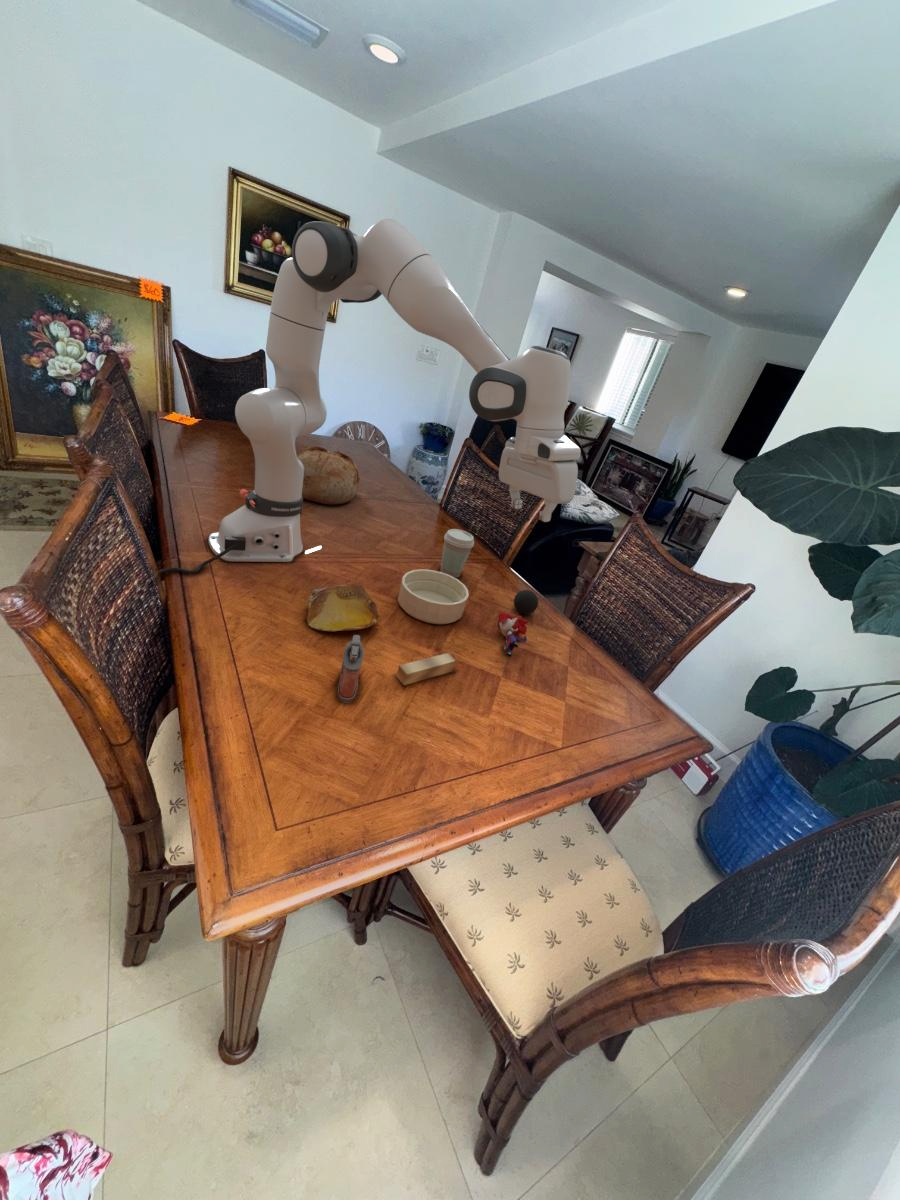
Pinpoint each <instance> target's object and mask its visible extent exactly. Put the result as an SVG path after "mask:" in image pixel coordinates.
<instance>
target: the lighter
mask: <svg viewBox="0 0 900 1200" xmlns="http://www.w3.org/2000/svg"><path fill="white" fill-rule="evenodd" d="M364 650H365V649H364V646H363V643H362V641H361V635H359V634H353V636H352V639H351V640H350V641H348V642H347V644H346V645H345V648H344V652H343V656H342V663H341V667H340V677H339V681H338V685H337V697H338V700H339V701H341V702H342V703H345V704H347V703H348V704H349V703H352V702H353V701H354V700H355V697H356V695H357V691H358V686H359V675H360V671H361V667H362V664H363V660H364V654H365V653H364Z"/></svg>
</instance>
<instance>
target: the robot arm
mask: <svg viewBox="0 0 900 1200" xmlns="http://www.w3.org/2000/svg"><path fill="white" fill-rule="evenodd" d="M272 293H273V294H272V298H271V304H270V312H269V313H270V314H269V319H268V329H267V334H266V335H267V337H266V344H265V352H266V355H267V357H268V359H269V360H270V362H271V363H272V366H273V369H274V377H275V385H274V387H259V388H256V389H254V390H251V391H249V392H246V393H245V394H242V395H241V396H240V397H239V398H238V400H237V402H236V404H235V407H234V416H235V421H236V423H237V425H238V427H239V429H240V431H241V432H242V433H243V434H244V435H245V436H246V437H247V438H248V440H249V442H250V445H251V448H252V451H253V456H254V457H253V458H254V488H253V490H252V491H251V492H249V491H248V490H247V489H246V488H240V490H239V492H238V495H239V496H240V497H241V498H242V499H243V500H245V504H244V505H242V506H240V507H239V508H238V509H236V510H234V511H232V512H231V513H229V514H227V515H226V516H224V517H223V518H222V519H221V522H220V524H219V527H218V532H217V531H216V532H213V533H211V534H209V536H208V546H209V548H210V550H211V551H212V553H213V554H214V556H213V557H211V558H209V559H207V560H205V561H203V562H201V563H200V564H198V566H196V569H191V570H190V569H185V568H181V567H168V568H162V569H158V571H159V575H161V574H163V573H168V572H179V573H184V574H191V575H193V574H197V573H199V572H200V570H201V569H202V568H204V567H205V566H206V565H208V564H210V563H212V562H214V561H216V560H218V559H222V560H223V561H226V562H244V563H245V562H250V563H251V562H253V563H254V562H257V563H259V562H260V563H290V562H292V561H293V560H294V557H296V556H297V555H300V554H301V553H302V552H303V550H304V544H303V540H302V532H301V517H302V516H303V515H302V514H303V508H304V498H303V496H302V487H303V478H304V466H303V464H302V462H301V461H300V460H299V459H298V458H297V457H298V454H297V450H296V449H297V448H296V440H297V438H300V437H306V436H309V435H312V434H313V433H314V432H316V431H318V430H319V429H320V428H322V427H323V425H324V424H325V422H326V420H327V416H328V415H327V414H328V411H327V406H326V403H325V401H324V399H323V398H322V395H321V386H320V363H321V357H322V350H323V344H324V340H325V339H324V337H325V331H326V327H327V321H328V314H329V310H330V308H331V306H332V304H333V303H334V302H335V301H338V300H340V302H342V303H344V304H348V303H349V304H350V303H351V304H352V303H355V304H358V303H359V304H361V303H363V304H364V303H368V302H372V301H375V300H377V299H379V298H380V297H381V296H383V298H384V299H385V300H386V301H387V303H388V304H389V305H390V306H391V308H392V309H393V310H394V312H395V313H396V314H397V315H398V316H399V317H400V319H402V320H403V321H404V323H406V324H407V325H408V326H410V327H411V328H412V329H413V330H415V331H416V332H418V333H421V334H423V335H425V336H429V337H431V338H434V339H436V340H439V341H441V342H443V343H445V344H447V345H448V346H450V347H452V348H453V349H455V350H456V351H457V352H458V353H459V354H460V355H461V356H462V357H463V358H464V360H465V361H466V362H467V363H468V364H469V365H470V366H471V367H472V369H473V370H474V371H475V372H476V374H475V375H474V377H473V379H472V380H471V383H470V385H469V390H468V391H469V392H468V400H469V403H470V407H471V409H472V410H473V412H474V413H475V414H476V415H477V416H478V417H479V418H481V419H483V420H486V421H488V422H489V421H490V422H501V421H508V420H515V421H516V430H515V436H511V437H510V438H509V439H508V440H506V442H505V444H504V445H505V446H504V448H503V450H502V453H501V456H500V461H499V462H500V463H499V469H498V479H499V481H500V482H501V483H503V484H506V485H507V486H509V487H508V491H509V495H510V499H511V502H510V507H511V508H512V509H515V510H521V509H522V508H523V499H521V494H520V491H523V492H525V493H529V494H531V495H533V496H535V497H539V498H540V499H541V498H542V499H544V500H543V505H545V506H544V508H543V509H542V510H541V511H540V510H539V514H538V515H539V516H538V520H539V521H541V522H544V523H547V522H550V521H551V519H552V513H553V512H554V511H555V509H556V507H557V506H558V504H559V505H560V504H568V503H570V502H571V501H572V500H573V499H574V498H575V494H576V489H577V485H578V483H577V482H578V474H579V467H578V464H577V462H576V461H577V460H579V459H580V457H581V453H582V451H581V448H580V447H579V445H577V444H576V443H574V442H573V441H572V440H571V439H569V437H568V436H567V435H566V434H564V433H565V411H566V409H567V406H568V404H569V398H570V390H571V379H572V378H571V376H572V368H571V367H572V366H571V360H570V358H569V356H567V354H566V353H564V352H562V351H560V350H556V349H552V348H550V347H544V346H541V345H533V346H529V347H528V348H527V349H526V350H525V351H524V352H522V353H520V354H519V355H517V356H515V357H513V358H509V356H508V355H506V354H505V353H504V351H503V350H502V349H501V348H500V347H499V346H498V344H497V343H496V342H495V340H494V339H493V338H492V337H491V336H490V335H489V333H488V332H487V331H486V330H485V329H484V328H483V326H482V325H481V324H480V323H479V322H478V321H477V319H476V317H474V315H473V314H472V313H471V311H470V309H469V308H468V307H467V305H466V304H465V302H464V301H463V299H462V298H461V296H460V295H459V294H458V292H457V290H456V289H455V287H454V285H453V284H452V283H451V281H450V280H449V278H448V277H447V275H446V274H445V272H444V270H443V269H442V268H441V266H440V265H439V264H438V262H437V260H436V259H435V258H434V257H433V255H432V254H431V253H430V252H429V251H428V250H427V248H426V247H425V246H424V244H422V242H421V241H420V240H418V239H417V238H416V236H414V234H412V233H411V232H410V231H409V230H408V229H407V228H406V227H405V226H403V224H401V223H400V222H399V221H397V220H395V219H392V218H383V219H380V220H378V221H376V222H375V223H373V225H371V226H370V227H369V229H368V230H367V232H366V233H365V234H363V235H361V236H360V235H358V234H356V233H355V232H352V230H351V229H350V228H347V227H344V226H340V225H337V224H335V223H331V222H327V221H321V220H320V221H318V220H317V221H309V222H305V223H304V224H303V225H302V226H301V227H299V229H298V230H297V231H296V233H295V235H294V237H293V241H292V245H291V257H289V258H286V259H285V260H284V261H283V262H282V264H281V265H280V269H279V271H278V274H277V277H276V281H275V285H274V288H273V292H272ZM321 549H322V545H318V546H315V547H313V548H310V549H307V550H305V552H304V554H305V555H308V554H310V553H313V552H316V551H319V550H321Z"/></svg>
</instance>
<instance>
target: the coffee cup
mask: <svg viewBox="0 0 900 1200" xmlns="http://www.w3.org/2000/svg"><path fill="white" fill-rule="evenodd" d="M443 539H444V542H443V549H442V555H441V563H440V570H439V572H442V573H445V574H448V575H450V576H452V577H454V578H456V579H458V578H459V577H460V576H461V574H462V571H463V569H464V567H465V565H466V562H467V560H468V557H469V555H470V553H471V550H472V548H473V547H474V546H475V537H474V535H472V533H469V531H465V530H462V529H459V528H451V529H448V530H447V531H446V533H445V534H444V536H443Z"/></svg>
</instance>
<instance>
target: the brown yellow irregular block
mask: <svg viewBox="0 0 900 1200" xmlns="http://www.w3.org/2000/svg"><path fill="white" fill-rule="evenodd" d="M306 606H307V611H308V613H307V617H306V622H307V625H308V626H309V627H310V628H312V629H313V630H314V629H315V630H317V631H323V632H338V631H339V632H344V631H355V630H356V631H358V630H364V629H367V628H369V627H372V626H376V625H377V623H378V622H379V620H380V616H379V612H378V606H377V604H376V603H375V601H374V599H373V598H372V597H371V596H370V595H369V594H368V592H367V591H366V589H365V588H364V586H363V585H362V584H359V583H345V584H341V585H340V584H339V585H334V586H330V587H325V588H317V587H315V588H313V589H312V590H311V593H310V596H309V597H308V599H307V604H306Z"/></svg>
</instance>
